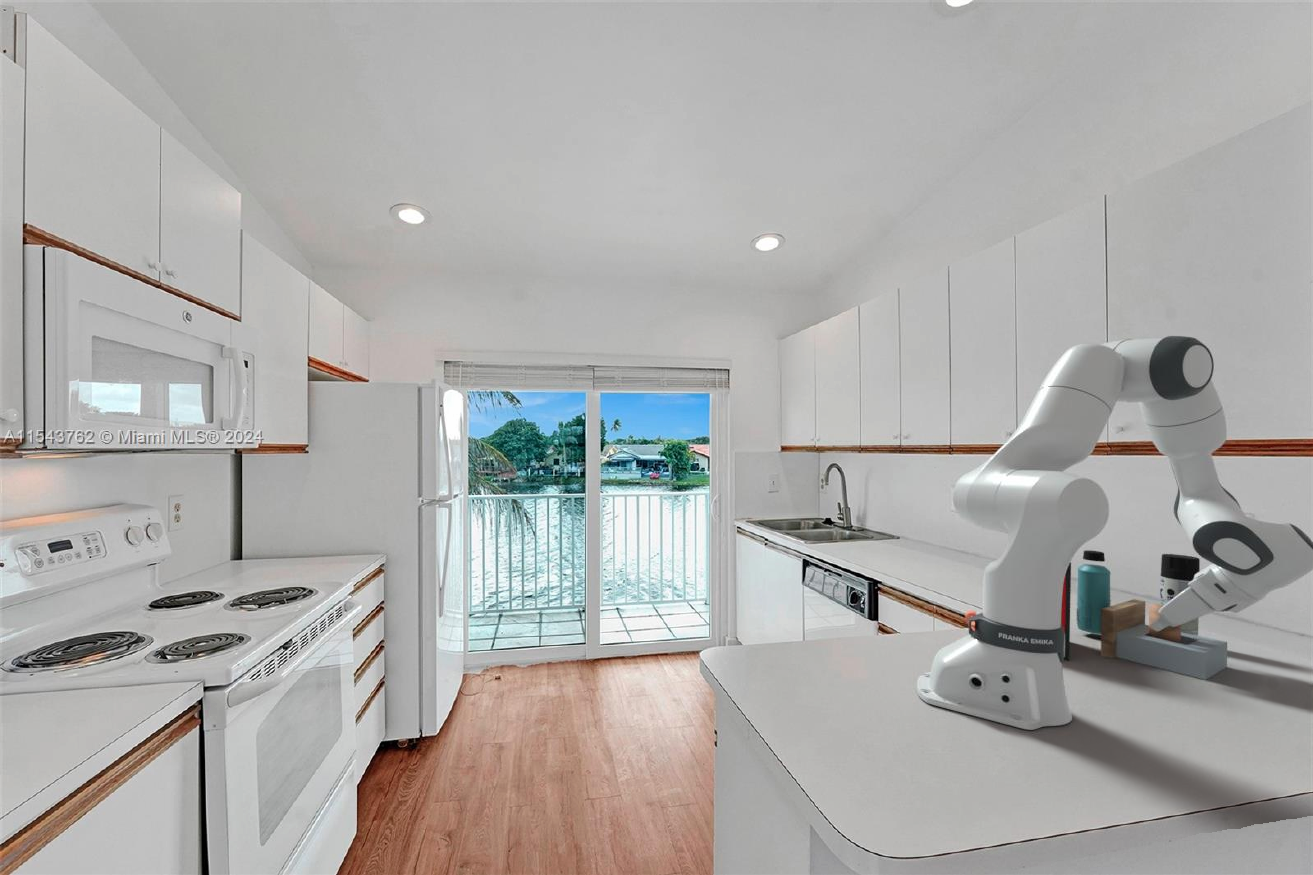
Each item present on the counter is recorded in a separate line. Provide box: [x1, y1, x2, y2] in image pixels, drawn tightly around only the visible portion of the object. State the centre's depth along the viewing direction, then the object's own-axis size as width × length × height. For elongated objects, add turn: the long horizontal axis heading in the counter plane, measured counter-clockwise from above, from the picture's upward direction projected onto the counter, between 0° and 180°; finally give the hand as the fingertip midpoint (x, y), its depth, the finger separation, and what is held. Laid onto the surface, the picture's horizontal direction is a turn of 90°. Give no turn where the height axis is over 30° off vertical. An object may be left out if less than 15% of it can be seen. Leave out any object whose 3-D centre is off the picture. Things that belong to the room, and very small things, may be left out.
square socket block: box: [1116, 623, 1228, 681], centre depth 122 cm, size 14×14×5 cm
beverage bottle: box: [1076, 549, 1112, 635], centre depth 139 cm, size 6×7×20 cm
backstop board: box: [1100, 598, 1146, 660], centre depth 129 cm, size 2×18×10 cm, turn 124°
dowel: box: [1148, 603, 1181, 643], centre depth 123 cm, size 5×5×9 cm
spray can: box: [1159, 553, 1201, 636], centre depth 135 cm, size 7×7×20 cm
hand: (1159, 625), depth 123 cm, fingers closed on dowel, 5 cm apart
